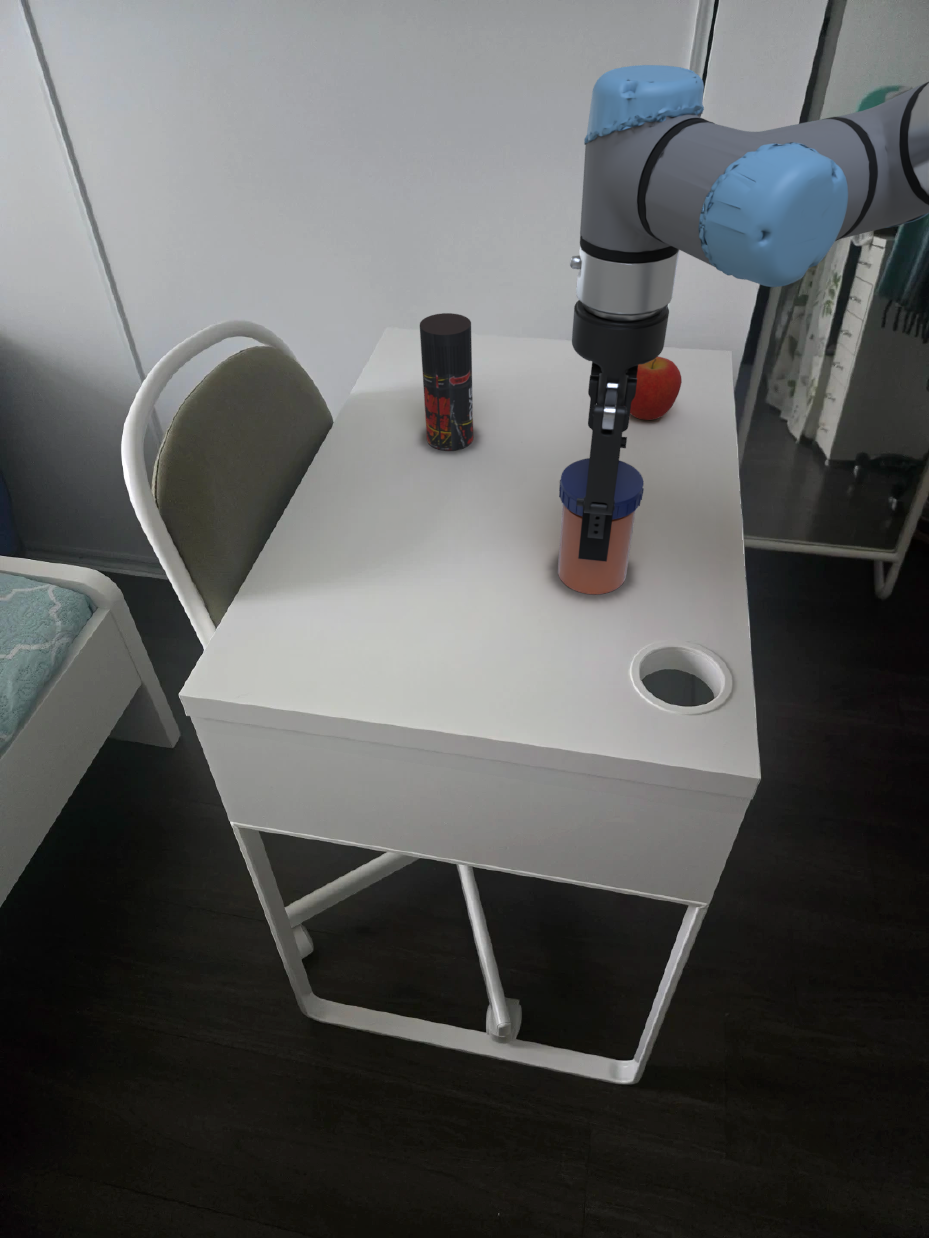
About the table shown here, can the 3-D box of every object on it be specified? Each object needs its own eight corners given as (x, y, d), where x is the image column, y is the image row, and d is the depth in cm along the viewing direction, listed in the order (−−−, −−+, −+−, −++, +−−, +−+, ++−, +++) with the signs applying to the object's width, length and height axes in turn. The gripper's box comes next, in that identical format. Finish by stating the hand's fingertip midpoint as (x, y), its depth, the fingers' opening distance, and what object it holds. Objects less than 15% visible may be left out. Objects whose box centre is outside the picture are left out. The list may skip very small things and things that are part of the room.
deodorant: (425, 428, 105) (418, 314, 95) (471, 425, 106) (468, 311, 95) (428, 452, 101) (420, 336, 91) (475, 449, 101) (473, 333, 91)
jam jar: (615, 547, 86) (627, 462, 79) (634, 590, 81) (648, 503, 74) (551, 554, 86) (556, 469, 79) (566, 598, 81) (573, 511, 74)
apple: (667, 398, 110) (676, 343, 104) (682, 428, 104) (692, 371, 99) (610, 401, 109) (617, 346, 104) (622, 431, 104) (629, 374, 98)
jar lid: (550, 478, 80) (551, 461, 78) (626, 469, 80) (628, 453, 79) (571, 525, 74) (572, 508, 73) (653, 515, 75) (655, 498, 73)
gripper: (585, 253, 72) (567, 470, 88) (561, 357, 58) (546, 595, 73) (670, 257, 71) (637, 476, 87) (669, 364, 56) (629, 604, 72)
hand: (595, 530), depth 80 cm, fingers closed on jar lid, 8 cm apart
